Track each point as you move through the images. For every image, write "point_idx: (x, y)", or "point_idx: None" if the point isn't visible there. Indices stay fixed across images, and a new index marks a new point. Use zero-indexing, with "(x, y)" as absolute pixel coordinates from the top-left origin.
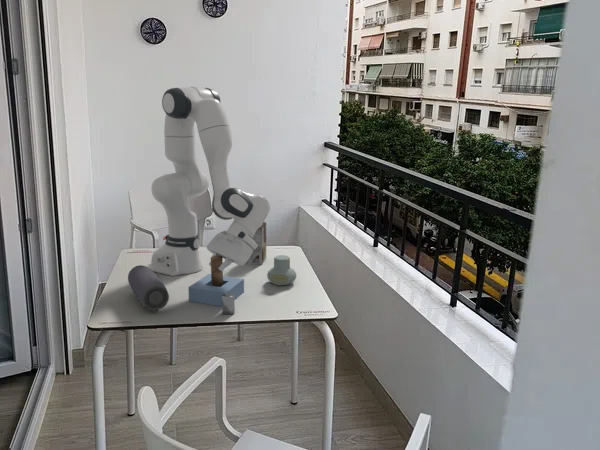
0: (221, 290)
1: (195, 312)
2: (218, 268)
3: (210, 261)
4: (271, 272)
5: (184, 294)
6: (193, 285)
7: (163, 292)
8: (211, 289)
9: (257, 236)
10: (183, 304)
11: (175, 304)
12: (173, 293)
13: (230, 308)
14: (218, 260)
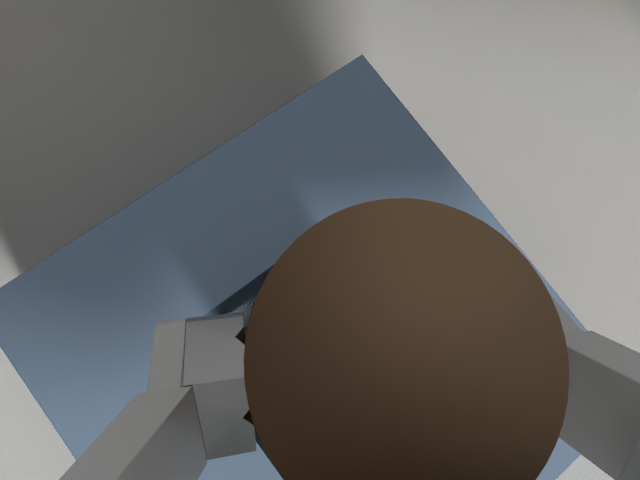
0: (73, 297)
1: (101, 70)
2: (195, 317)
3: (558, 305)
4: None
5: (481, 144)
6: (380, 111)
7: None
8: (169, 215)
9: None
10: (296, 61)
11: (327, 18)
12: (536, 86)
13: None
14: (247, 343)
